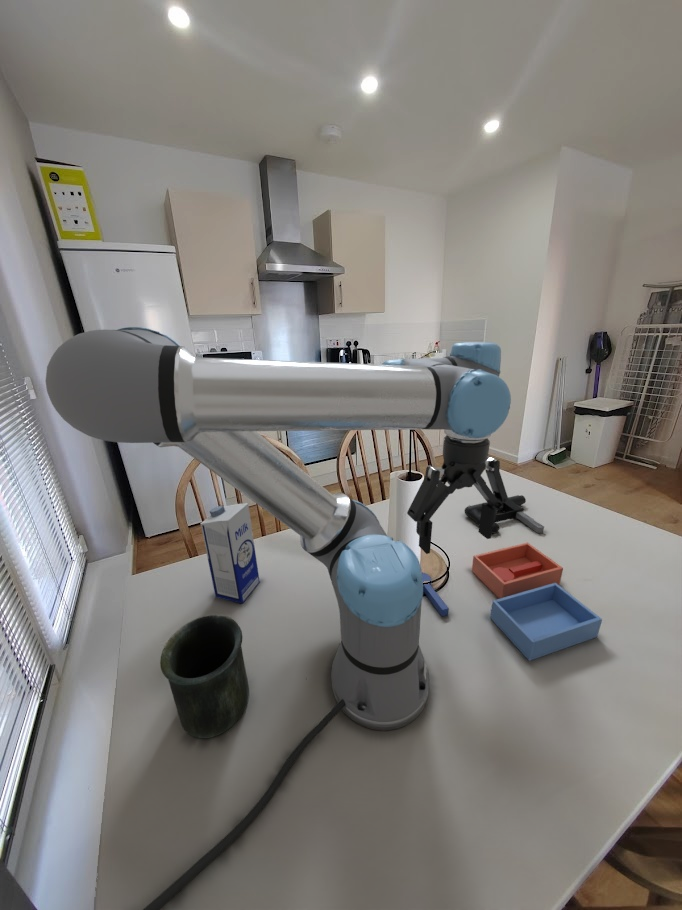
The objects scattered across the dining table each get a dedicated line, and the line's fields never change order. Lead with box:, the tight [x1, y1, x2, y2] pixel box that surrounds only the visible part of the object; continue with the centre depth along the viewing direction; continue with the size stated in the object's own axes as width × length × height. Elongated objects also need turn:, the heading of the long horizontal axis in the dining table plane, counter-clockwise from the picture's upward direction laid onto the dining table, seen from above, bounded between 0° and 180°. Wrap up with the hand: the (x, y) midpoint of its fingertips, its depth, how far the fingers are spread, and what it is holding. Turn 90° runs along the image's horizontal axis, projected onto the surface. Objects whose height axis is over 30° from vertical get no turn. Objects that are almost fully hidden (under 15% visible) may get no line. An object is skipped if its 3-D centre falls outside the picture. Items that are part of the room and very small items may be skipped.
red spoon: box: [492, 561, 542, 582], centre depth 77 cm, size 12×4×2 cm, turn 107°
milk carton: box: [200, 503, 261, 604], centre depth 74 cm, size 7×7×20 cm
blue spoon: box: [422, 572, 450, 617], centre depth 73 cm, size 12×4×2 cm, turn 17°
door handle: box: [464, 494, 545, 534], centre depth 98 cm, size 3×20×16 cm
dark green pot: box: [159, 614, 250, 739], centre depth 53 cm, size 11×15×12 cm
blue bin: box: [489, 583, 603, 662], centre depth 64 cm, size 15×10×4 cm, turn 107°
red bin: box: [471, 542, 564, 599], centre depth 77 cm, size 15×10×4 cm, turn 107°
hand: (455, 542), depth 68 cm, fingers open, 13 cm apart
